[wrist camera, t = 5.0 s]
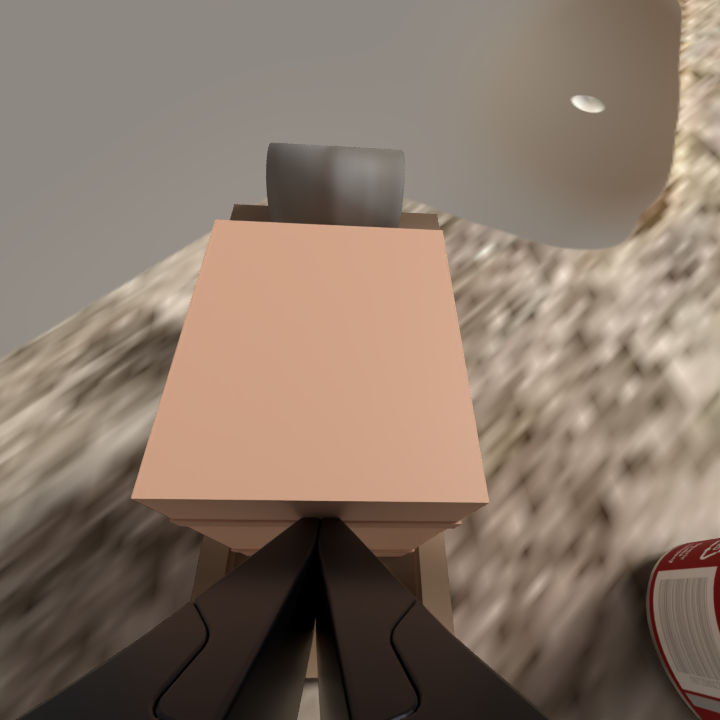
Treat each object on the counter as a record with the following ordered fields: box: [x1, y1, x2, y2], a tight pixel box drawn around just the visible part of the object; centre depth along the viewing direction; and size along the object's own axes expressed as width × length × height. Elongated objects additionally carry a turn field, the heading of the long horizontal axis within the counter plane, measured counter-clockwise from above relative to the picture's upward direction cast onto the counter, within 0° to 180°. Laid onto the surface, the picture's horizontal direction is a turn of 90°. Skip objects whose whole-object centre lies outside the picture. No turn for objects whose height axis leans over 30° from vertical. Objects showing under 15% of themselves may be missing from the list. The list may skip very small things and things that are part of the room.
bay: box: [191, 143, 455, 678], centre depth 14 cm, size 18×9×10 cm, turn 0°
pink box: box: [131, 220, 489, 557], centre depth 13 cm, size 7×6×10 cm
